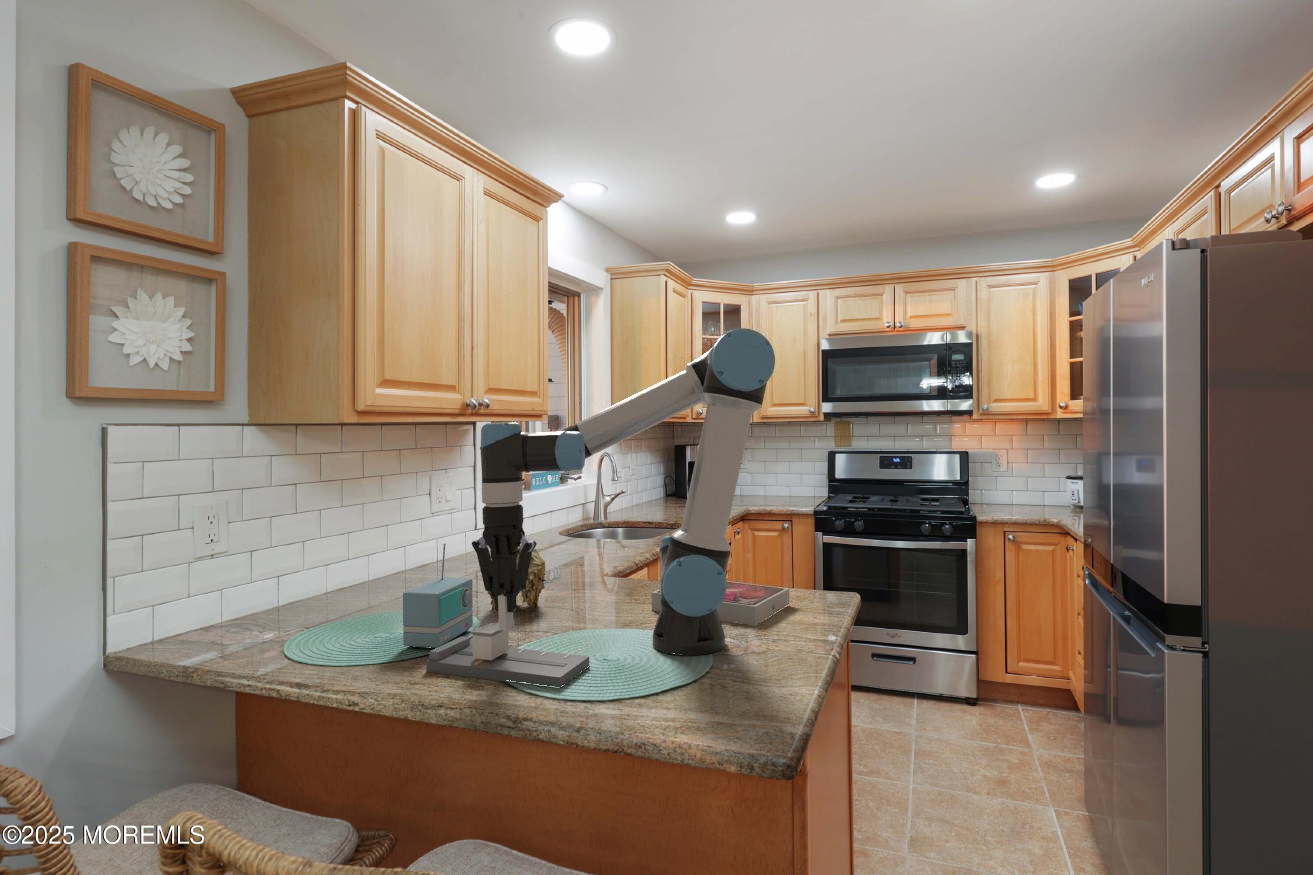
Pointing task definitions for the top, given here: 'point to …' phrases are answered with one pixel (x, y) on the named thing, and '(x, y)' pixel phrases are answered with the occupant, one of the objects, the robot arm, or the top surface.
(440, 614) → the radio
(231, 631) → the top surface
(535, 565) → the seashell
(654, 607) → the product packaging
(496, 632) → the fader tab
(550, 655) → the fader console
